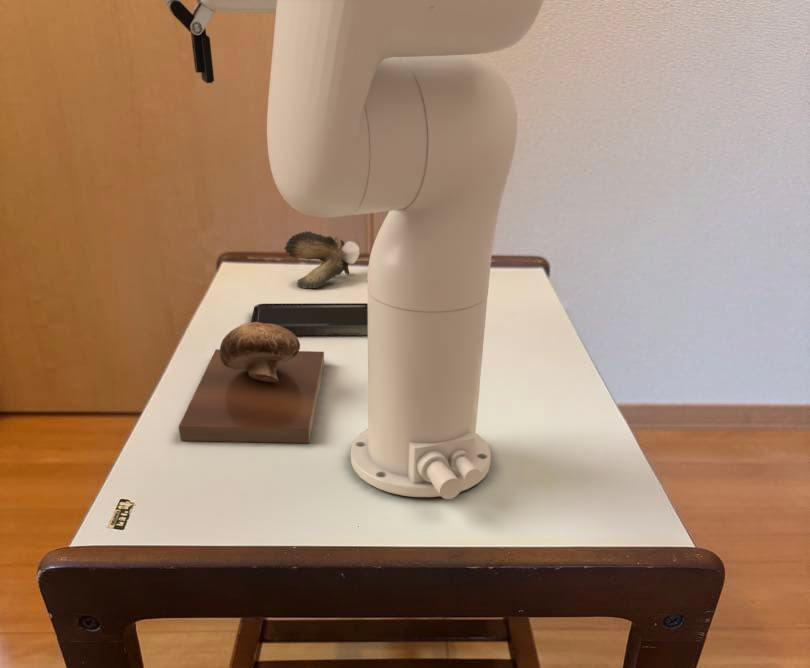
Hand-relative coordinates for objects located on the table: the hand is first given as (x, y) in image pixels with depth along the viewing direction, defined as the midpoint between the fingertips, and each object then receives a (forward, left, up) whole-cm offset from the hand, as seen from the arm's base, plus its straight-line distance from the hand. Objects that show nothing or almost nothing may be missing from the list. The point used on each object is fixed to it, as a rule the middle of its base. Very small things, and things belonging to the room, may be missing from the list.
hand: (255, 80), depth 80 cm
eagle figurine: (+16, -11, -27) cm, 33 cm away
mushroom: (-16, +5, -25) cm, 30 cm away
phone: (0, -5, -26) cm, 27 cm away
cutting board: (-18, +6, -26) cm, 32 cm away
